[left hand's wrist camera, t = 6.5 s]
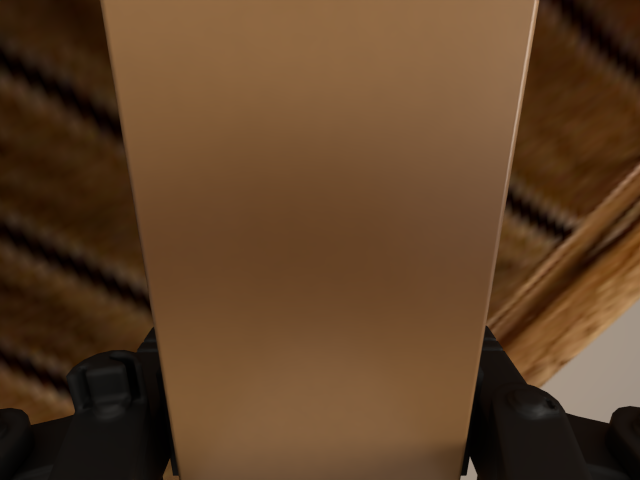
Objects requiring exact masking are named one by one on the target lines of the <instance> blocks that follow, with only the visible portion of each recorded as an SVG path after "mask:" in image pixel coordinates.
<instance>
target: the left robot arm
mask: <svg viewBox="0 0 640 480" xmlns="http://www.w3.org/2000/svg"><path fill="white" fill-rule="evenodd" d="M66 378H67V382H68V385H69V389H70V393H71V397H72V400H73V404H74V408H75V413H74V415H71V416H68V417H64V418H61V419H56V420H52V421H47V422H43V423H39V424H34V425H31V424H30V421H29V418H28V415H27V414H26V413H25V412H23V411H22V410H20V409H14V408H6V409H0V480H163V474H164V471H165V469H166V466H167V464H168V461H169V459H171V465H172V471H173V476H179V474H178V468H177V462H176V455H175V449H174V443H173V437H172V431H171V425H170V419H169V413H168V407H167V401H166V395H165V389H164V383H163V377H162V371H161V365H160V359H159V353H158V347H157V341H156V335H155V329H154V327H153V328H152V329H151V331H150V332H149V334H148V335H147V337H146V338H145V339H144V342H142V344H141V345H140V347H139V348H138V350H137V352H136V353H134V352H130V351H126V350H112V351H108V352H103V353H99V354H96V355H94V356H92V357H89V358H87V359H85V360H83V361H82V362H80V363H79V364H77V365H76V366H75V367H73V368H72V370H71V371H70V372H69V373H68V375H67V376H66ZM470 457H471V460H472V462H473V465H474V467H475V470H476V472H477V475H478V476H477V480H640V407H633V406H628V407H621V408H618V409H617V410H616V411H615V412H613V414H612V417H611V420H610V423H605V422H600V421H596V420H592V419H587V418H583V417H578V416H575V415H571V414H568V413H565V410H564V409H563V407H562V406H561V405H560V403H559V402H558V401H557V400H556V399H555V398H554V397H552V396H551V395H550V394H549V393H547V392H545V391H543V390H541V389H539V388H537V387H535V386H532V385H528V384H527V383H526V382H525V380H524V379H523V377H522V376H521V374H520V373H519V372H518V370H517V369H516V367H515V366H514V364H513V363H512V361H511V360H510V358H509V357H508V356H507V354H506V353H505V351H503V348H502V347H501V345H500V344H499V342H498V341H496V338H495V337H494V335H493V334H492V332H491V331H490V329H489V328H488V327H487V326H485V332H484V338H483V344H482V350H481V356H480V362H479V368H478V374H477V380H476V386H475V392H474V398H473V404H472V410H471V416H470V422H469V429H468V435H467V441H466V447H465V453H464V459H463V465H462V471H461V476H466V475H467V469H468V464H469V458H470Z"/></svg>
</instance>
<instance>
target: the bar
mask: <svg viewBox="0 0 640 480" xmlns="http://www.w3.org/2000/svg"><path fill="white" fill-rule="evenodd" d="M100 2H101V8H102V14H103V20H104V26H105V32H106V38H107V44H108V50H109V56H110V63H111V69H112V75H113V81H114V87H115V93H116V99H117V105H118V111H119V117H120V123H121V129H122V135H123V141H124V147H125V153H126V159H127V165H128V171H129V177H130V183H131V189H132V196H133V202H134V208H135V214H136V220H137V226H138V232H139V238H140V244H141V250H142V256H143V262H144V268H145V274H146V280H147V286H148V292H149V298H150V304H151V310H152V316H153V322H154V329H155V335H156V341H157V347H158V353H159V359H160V365H161V371H162V377H163V383H164V389H165V395H166V401H167V407H168V413H169V419H170V425H171V431H172V437H173V443H174V449H175V455H176V462H177V468H178V474H179V480H460V477H461V471H462V465H463V459H464V453H465V447H466V441H467V435H468V429H469V422H470V416H471V410H472V404H473V398H474V392H475V386H476V380H477V374H478V368H479V362H480V356H481V350H482V344H483V338H484V332H485V326H486V320H487V313H488V307H489V301H490V295H491V289H492V283H493V277H494V271H495V265H496V259H497V253H498V247H499V241H500V235H501V229H502V223H503V217H504V210H505V204H506V198H507V192H508V186H509V180H510V174H511V168H512V162H513V156H514V150H515V144H516V138H517V132H518V126H519V120H520V114H521V108H522V101H523V95H524V89H525V83H526V77H527V71H528V65H529V59H530V53H531V47H532V41H533V35H534V29H535V23H536V17H537V11H538V5H539V0H100Z"/></svg>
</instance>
